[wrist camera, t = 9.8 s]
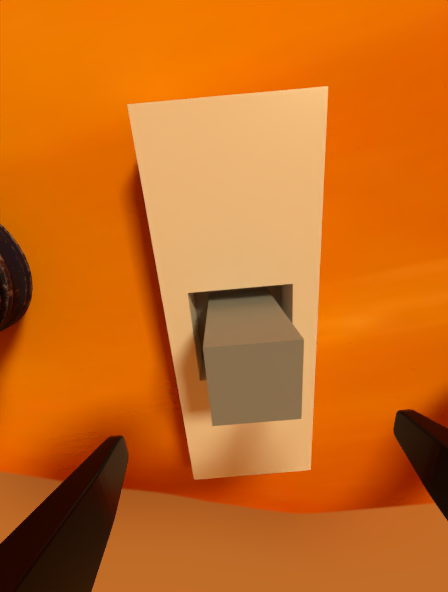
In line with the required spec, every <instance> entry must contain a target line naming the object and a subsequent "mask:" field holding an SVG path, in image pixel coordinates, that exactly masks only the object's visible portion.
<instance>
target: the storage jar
mask: <svg viewBox="0 0 448 592" xmlns="http://www.w3.org/2000/svg"><path fill="white" fill-rule="evenodd" d="M31 296H32V276H31V272H30V268H29V265H28V262H27V260H26V257H25V255H24V253H23V252H22V250H21V248H20V246H19V245H18V243H17V242H16V241H15V239H14V238H13V237H12V235H11V234H10V233H9V232H8V231H7V230H6V229H5V228H4V227H3V226H2V225H1V224H0V331H2V330H4V329H6V328H8V327H10V326H12V325H13V324H14V323H16V322H17V321H18V320H19V319H20V318H21V317H22V316H23V315H24V313H25V312H26V310H27V308H28V306H29V303H30V300H31Z"/></svg>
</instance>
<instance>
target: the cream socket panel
mask: <svg viewBox="0 0 448 592" xmlns="http://www.w3.org/2000/svg"><path fill="white" fill-rule="evenodd" d="M327 101H328V86H325V87H314V88H303V89H292V90H281V91H270V92H259V93H247V94H236V95H225V96H214V97H203V98H192V99H181V100H170V101H159V102H148V103H137V104H127V106H128V111H129V117H130V122H131V128H132V134H133V139H134V145H135V150H136V156H137V162H138V167H139V173H140V179H141V184H142V190H143V195H144V201H145V207H146V212H147V218H148V223H149V229H150V235H151V240H152V246H153V252H154V257H155V263H156V268H157V274H158V280H159V285H160V291H161V297H162V302H163V308H164V313H165V319H166V325H167V330H168V336H169V341H170V347H171V353H172V358H173V364H174V370H175V375H176V381H177V386H178V392H179V398H180V403H181V409H182V414H183V420H184V426H185V431H186V437H187V443H188V448H189V454H190V459H191V465H192V471H193V476H194V480H199V479H211V478H222V477H234V476H245V475H257V474H269V473H280V472H292V471H304V470H311V450H312V428H313V407H314V385H315V363H316V341H317V319H318V297H319V276H320V254H321V232H322V210H323V188H324V167H325V145H326V123H327ZM256 290H268V291H269V292H270V294H271V295H272V296H273V298H274V299H275V300H276V302H277V303H278V305H279V306H280V307H281V309H282V310H283V311H284V313H285V314H286V315H287V317H288V318H289V320H290V321H291V322H292V324H293V325H294V326H295V328H296V329H297V331H298V332H299V333H300V335H301V336H302V337H303V339H304V356H303V386H302V416H301V419H294V420H282V421H270V422H257V423H245V424H233V425H221V426H212V419H211V411H210V402H209V394H208V386H207V378H206V370H205V361H204V353H203V342H204V334H205V326H206V318H207V309H208V301H209V294H219V293H232V292H244V291H256Z"/></svg>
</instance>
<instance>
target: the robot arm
mask: <svg viewBox="0 0 448 592" xmlns="http://www.w3.org/2000/svg"><path fill="white" fill-rule="evenodd" d="M393 430H394V435H395V437H396V439H397V441H398V442H399V444H400V446H401V447H402V449H403V451H404V453H405V454H406V456H407V458H408V459H409V461H410V463H411V464H412V466H413V468H414V470H415V471H416V473H417V475H418V476H419V478H420V480H421V482H422V483H423V485H424V486H425V488H426V490H427V491H428V493H429V494H430V496H431V497H432V499H433V500H434V502H435V503H436V505H437V506H438V507H439V509H440V510H441V512H442V513H443V515H444V516H445V518H446V519H447V520H448V428H446V427H444V426H442V425H440V424H438V423H436V422H434V421H433V420H431V419H429V418H427V417H425V416H423V415H421V414H419V413H418V412H416V411H414V410H410V409H408V410H399V411H398V412H397V413H396V418H395V423H394V429H393ZM127 464H128V451H127V447H126V444H125V440H124V437H123V436H121V435H119V436H110V437H109V438H107V439H106V440H105V441H104V442H103V443H102V444H101V445H100V446H99V447H98V448H97V449H96V450H95V451H94V452H93V453H92V454H91V455H90V456H89V457H88V458H87V459H86V460H85V461H84V462H83V463H82V464H81V465H80V466H79V467H78V468H77V469H76V470H75V471H74V472H73V473H72V474H71V475H70V476H69V477H68V478H67V479H66V480H65V481H64V482H63V483H61V485H59V486H58V488H56V490H54V491H53V492H52V493H51V494H50V495H49V496H48V497H47V498H46V499H45V500H44V501H43V502H42V503H41V504H40V505H39V506H38V507H37V508H36V509H35V510H34V511H33V512H32V513H31V514H30V515H29V516H28V517H27V518H26V519H25V520H24V521H23V522H22V523H21V524H20V525H19V526H18V527H17V528H16V529H15V530H14V531H13V532H12V533H11V534H10V535H9V536H8V537H7V538H6V539H5V540H4V541H3V542H2V543H1V544H0V592H91V591H92V588H93V585H94V582H95V578H96V575H97V572H98V569H99V566H100V563H101V560H102V557H103V554H104V551H105V548H106V544H107V541H108V538H109V535H110V532H111V529H112V525H113V522H114V519H115V515H116V511H117V506H118V502H119V498H120V494H121V489H122V485H123V481H124V476H125V472H126V468H127Z"/></svg>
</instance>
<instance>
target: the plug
mask: <svg viewBox="0 0 448 592" xmlns="http://www.w3.org/2000/svg"><path fill="white" fill-rule="evenodd" d="M203 353H204V361H205V370H206V378H207V386H208V394H209V402H210V411H211V419H212V426H221V425H233V424H245V423H257V422H270V421H282V420H294V419H301V416H302V386H303V356H304V339H303V337H302V336H301V335H300V333H299V332H298V331H297V329H296V328H295V326H294V325H293V324H292V322H291V321H290V320H289V318H288V317H287V315H286V314H285V313H284V311H283V310H282V309H281V307H280V306H279V305H278V303H277V302H276V300H275V299H274V298H273V296H272V295H271V294H270V292H269V291H268V290H256V291H244V292H232V293H219V294H209V301H208V309H207V318H206V326H205V334H204V342H203Z"/></svg>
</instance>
